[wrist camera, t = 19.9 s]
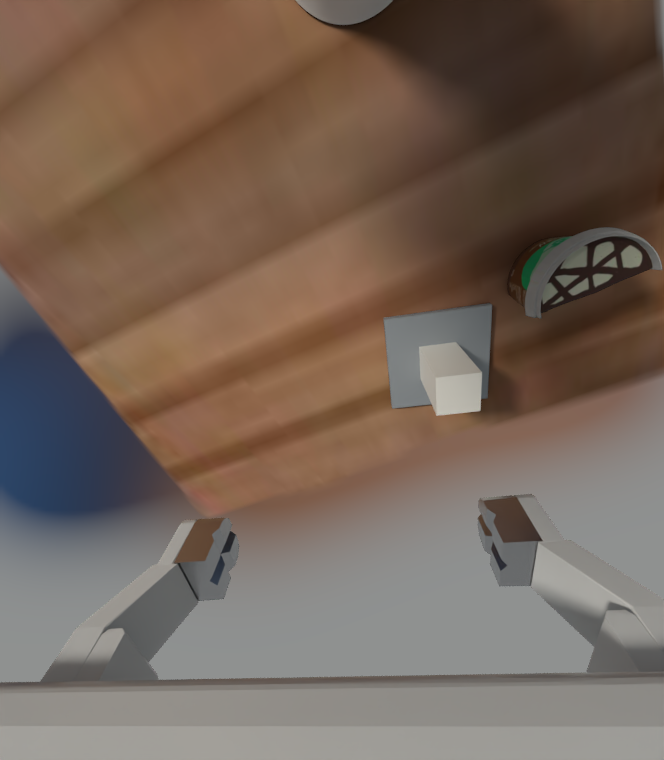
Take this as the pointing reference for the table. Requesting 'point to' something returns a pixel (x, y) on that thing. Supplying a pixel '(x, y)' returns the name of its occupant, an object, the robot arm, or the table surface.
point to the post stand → (432, 329)
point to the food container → (577, 267)
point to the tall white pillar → (450, 379)
